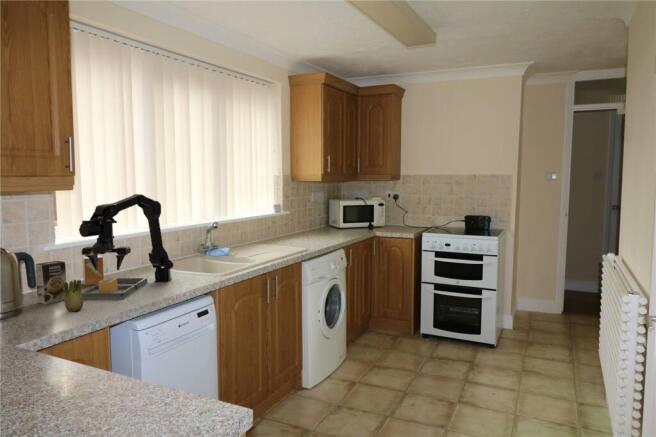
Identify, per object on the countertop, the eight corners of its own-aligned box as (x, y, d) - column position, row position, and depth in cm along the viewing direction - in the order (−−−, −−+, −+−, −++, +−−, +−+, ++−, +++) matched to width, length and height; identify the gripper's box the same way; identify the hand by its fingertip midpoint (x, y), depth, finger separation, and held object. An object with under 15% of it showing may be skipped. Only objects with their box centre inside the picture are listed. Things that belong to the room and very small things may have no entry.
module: (117, 290, 208) (117, 277, 207) (110, 294, 201) (110, 281, 201) (106, 290, 208) (105, 277, 207) (99, 294, 201) (98, 281, 200)
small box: (85, 286, 220) (83, 258, 219) (83, 283, 226) (82, 256, 224) (104, 283, 225) (103, 256, 223) (102, 281, 230) (100, 254, 229)
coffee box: (45, 304, 190) (42, 265, 188) (37, 302, 193) (34, 263, 191) (67, 299, 197) (65, 261, 196) (59, 297, 201) (57, 260, 199)
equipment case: (147, 282, 227) (147, 277, 226) (136, 290, 213) (136, 284, 213) (109, 283, 226) (109, 277, 226) (96, 290, 212) (95, 284, 212)
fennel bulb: (64, 313, 179) (62, 281, 177) (68, 309, 183) (66, 279, 182) (81, 312, 180) (79, 281, 179) (84, 308, 185) (83, 278, 183)
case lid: (136, 290, 213) (136, 284, 213) (123, 299, 198) (122, 293, 198) (96, 290, 212) (95, 284, 212) (79, 299, 197) (79, 293, 197)
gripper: (73, 237, 194) (75, 274, 195) (119, 236, 194) (121, 274, 196) (87, 233, 205) (88, 268, 206) (130, 233, 205) (131, 268, 207)
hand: (107, 270), depth 203 cm, fingers open, 9 cm apart
